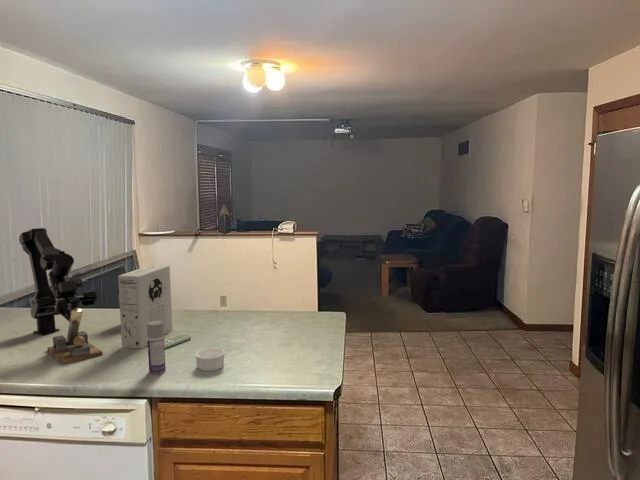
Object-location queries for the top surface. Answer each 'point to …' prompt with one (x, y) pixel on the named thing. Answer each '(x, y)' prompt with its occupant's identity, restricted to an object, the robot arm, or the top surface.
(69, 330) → the lever
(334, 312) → the top surface
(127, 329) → the cereal box
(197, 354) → the ramekin
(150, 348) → the container
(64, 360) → the tan base plate
